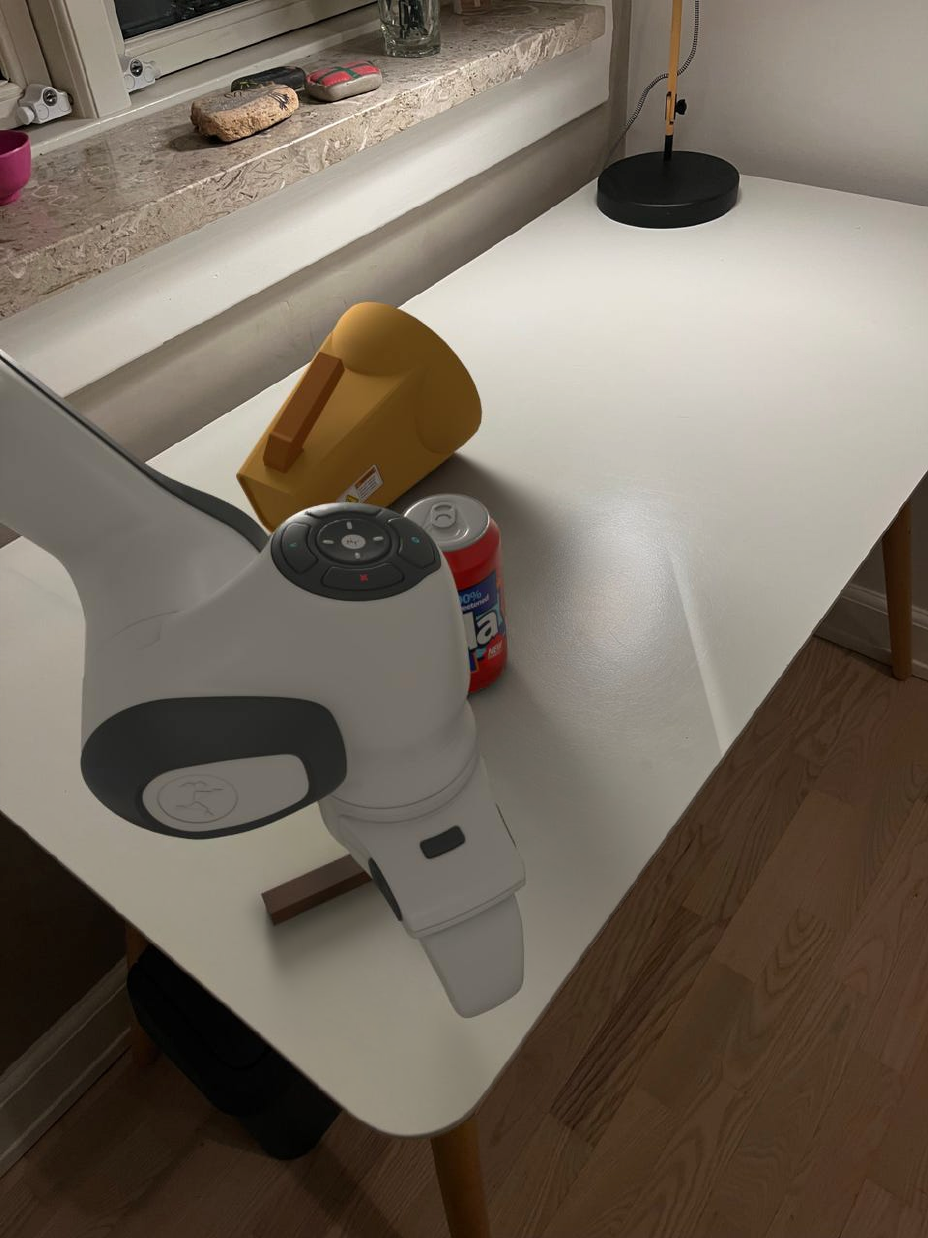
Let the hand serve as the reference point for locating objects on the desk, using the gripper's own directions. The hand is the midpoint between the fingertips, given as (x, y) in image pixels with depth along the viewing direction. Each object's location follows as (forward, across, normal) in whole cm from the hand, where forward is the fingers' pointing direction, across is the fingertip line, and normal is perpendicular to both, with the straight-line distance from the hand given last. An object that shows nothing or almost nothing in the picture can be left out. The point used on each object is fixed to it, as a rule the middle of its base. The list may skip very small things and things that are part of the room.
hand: (423, 911), depth 64 cm
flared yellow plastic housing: (+3, -46, +14) cm, 49 cm away
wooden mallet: (+3, -6, -2) cm, 7 cm away
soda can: (+3, -20, +12) cm, 24 cm away
